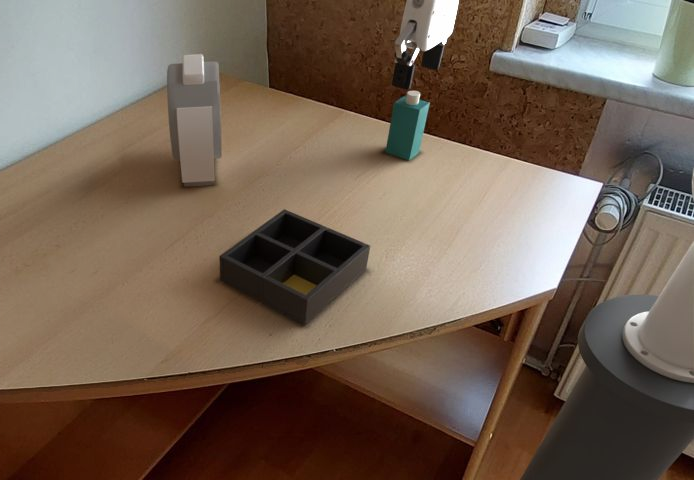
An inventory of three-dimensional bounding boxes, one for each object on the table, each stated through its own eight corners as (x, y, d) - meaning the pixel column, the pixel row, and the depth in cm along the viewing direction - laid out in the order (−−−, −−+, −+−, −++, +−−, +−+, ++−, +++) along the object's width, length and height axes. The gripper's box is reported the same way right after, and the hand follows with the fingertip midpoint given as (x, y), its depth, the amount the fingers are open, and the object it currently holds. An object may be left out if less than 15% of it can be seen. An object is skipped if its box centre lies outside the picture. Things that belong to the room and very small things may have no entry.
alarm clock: (223, 195, 108) (219, 79, 94) (174, 198, 109) (164, 82, 94) (220, 146, 121) (216, 37, 107) (177, 148, 121) (168, 40, 107)
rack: (366, 270, 92) (370, 245, 88) (304, 325, 84) (307, 300, 81) (282, 233, 100) (284, 208, 96) (220, 280, 92) (219, 255, 89)
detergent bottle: (419, 152, 115) (432, 92, 107) (409, 160, 113) (421, 100, 105) (395, 145, 118) (406, 86, 110) (385, 152, 116) (395, 93, 108)
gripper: (433, -18, 87) (409, 101, 100) (488, -47, 96) (460, 66, 108) (386, -26, 91) (369, 89, 103) (443, -54, 99) (420, 56, 112)
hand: (415, 77), depth 106 cm, fingers open, 9 cm apart
